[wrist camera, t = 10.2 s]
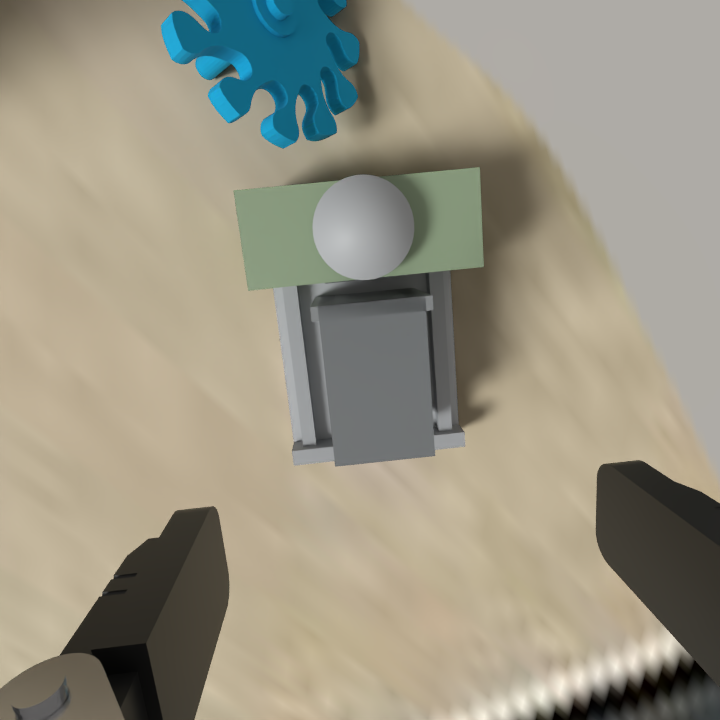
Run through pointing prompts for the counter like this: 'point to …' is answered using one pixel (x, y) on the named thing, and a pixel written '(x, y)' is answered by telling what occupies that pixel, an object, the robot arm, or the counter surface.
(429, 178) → the drawer with ball knob
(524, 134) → the counter surface
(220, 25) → the gear
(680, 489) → the robot arm
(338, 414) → the grey lidded bin
